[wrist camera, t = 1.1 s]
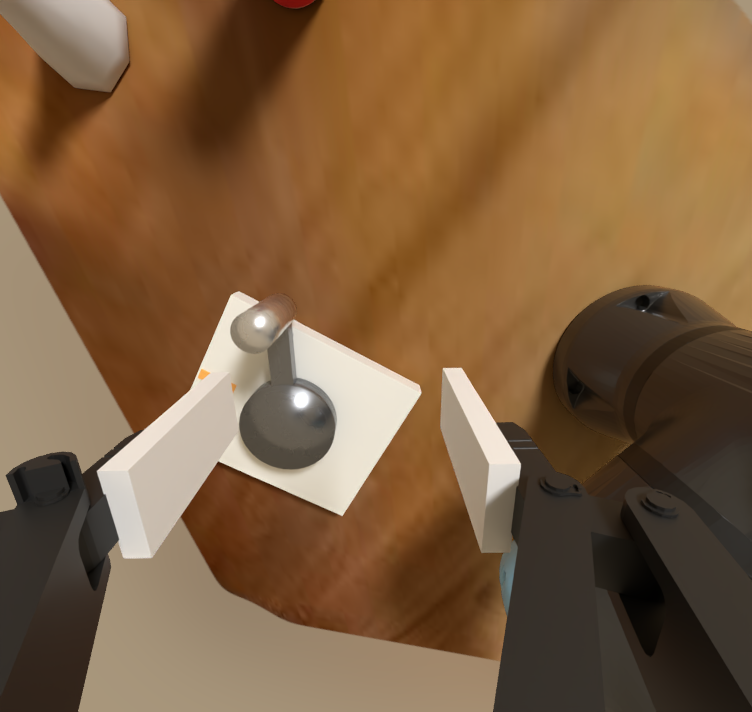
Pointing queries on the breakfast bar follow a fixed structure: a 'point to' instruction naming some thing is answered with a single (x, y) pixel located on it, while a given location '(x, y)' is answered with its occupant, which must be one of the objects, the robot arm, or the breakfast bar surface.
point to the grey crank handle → (281, 392)
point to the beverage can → (294, 3)
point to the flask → (74, 38)
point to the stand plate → (345, 389)
